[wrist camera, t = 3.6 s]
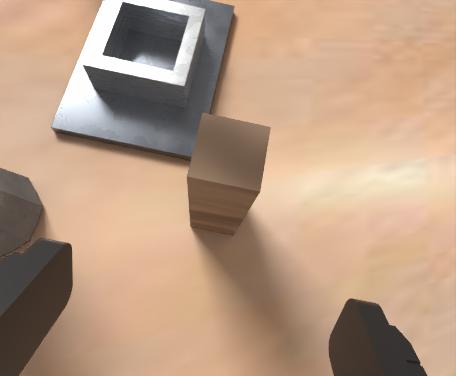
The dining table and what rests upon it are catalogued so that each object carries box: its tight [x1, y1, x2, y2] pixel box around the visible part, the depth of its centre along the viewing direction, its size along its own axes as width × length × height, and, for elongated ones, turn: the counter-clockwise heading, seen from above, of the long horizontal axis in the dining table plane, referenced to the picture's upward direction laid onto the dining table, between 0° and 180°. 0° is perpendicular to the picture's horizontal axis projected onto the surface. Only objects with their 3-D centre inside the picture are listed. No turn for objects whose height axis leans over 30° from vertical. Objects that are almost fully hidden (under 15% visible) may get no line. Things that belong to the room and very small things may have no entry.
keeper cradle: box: [51, 0, 234, 160], centre depth 37 cm, size 22×16×5 cm
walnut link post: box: [187, 113, 270, 235], centre depth 27 cm, size 4×4×15 cm
